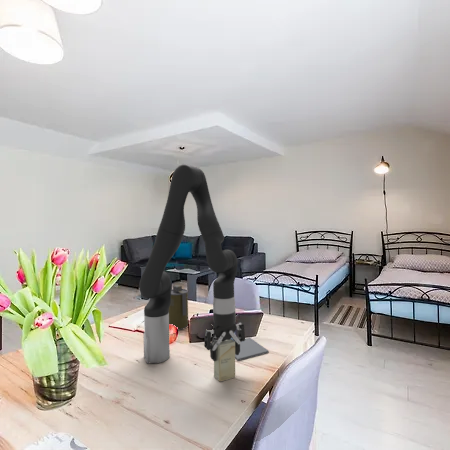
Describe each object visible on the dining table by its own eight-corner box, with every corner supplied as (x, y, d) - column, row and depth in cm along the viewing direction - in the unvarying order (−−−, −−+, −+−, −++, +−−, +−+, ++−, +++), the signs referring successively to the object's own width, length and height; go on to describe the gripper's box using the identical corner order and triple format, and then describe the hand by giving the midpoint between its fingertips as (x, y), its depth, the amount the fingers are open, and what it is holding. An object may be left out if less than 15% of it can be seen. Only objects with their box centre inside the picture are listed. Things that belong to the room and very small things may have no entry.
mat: (237, 361, 108) (237, 358, 108) (221, 346, 121) (221, 344, 121) (268, 352, 115) (268, 350, 115) (249, 339, 127) (249, 337, 127)
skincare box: (219, 382, 95) (219, 345, 94) (213, 376, 99) (213, 340, 98) (236, 377, 98) (235, 341, 97) (229, 371, 102) (229, 336, 101)
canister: (163, 326, 144) (162, 286, 143) (181, 320, 151) (180, 282, 151) (175, 332, 136) (174, 290, 136) (193, 326, 143) (192, 286, 143)
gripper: (237, 303, 104) (238, 348, 105) (200, 310, 98) (201, 357, 98) (248, 309, 97) (249, 356, 98) (209, 316, 91) (210, 367, 91)
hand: (225, 357), depth 98 cm, fingers open, 8 cm apart
